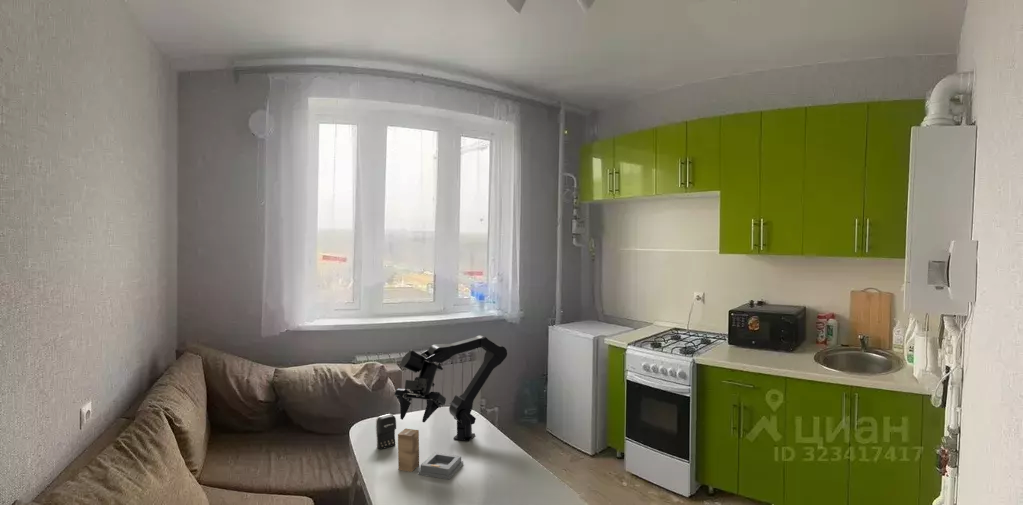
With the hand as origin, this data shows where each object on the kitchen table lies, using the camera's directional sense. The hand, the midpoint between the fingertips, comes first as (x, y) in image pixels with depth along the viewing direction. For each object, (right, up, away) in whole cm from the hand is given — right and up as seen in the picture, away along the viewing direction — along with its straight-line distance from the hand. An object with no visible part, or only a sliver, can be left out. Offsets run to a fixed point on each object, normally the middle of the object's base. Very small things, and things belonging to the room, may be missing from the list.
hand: (412, 420), depth 174 cm
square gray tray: (+11, -14, -7) cm, 19 cm away
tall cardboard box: (0, -14, -6) cm, 15 cm away
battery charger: (-11, -13, +10) cm, 20 cm away
